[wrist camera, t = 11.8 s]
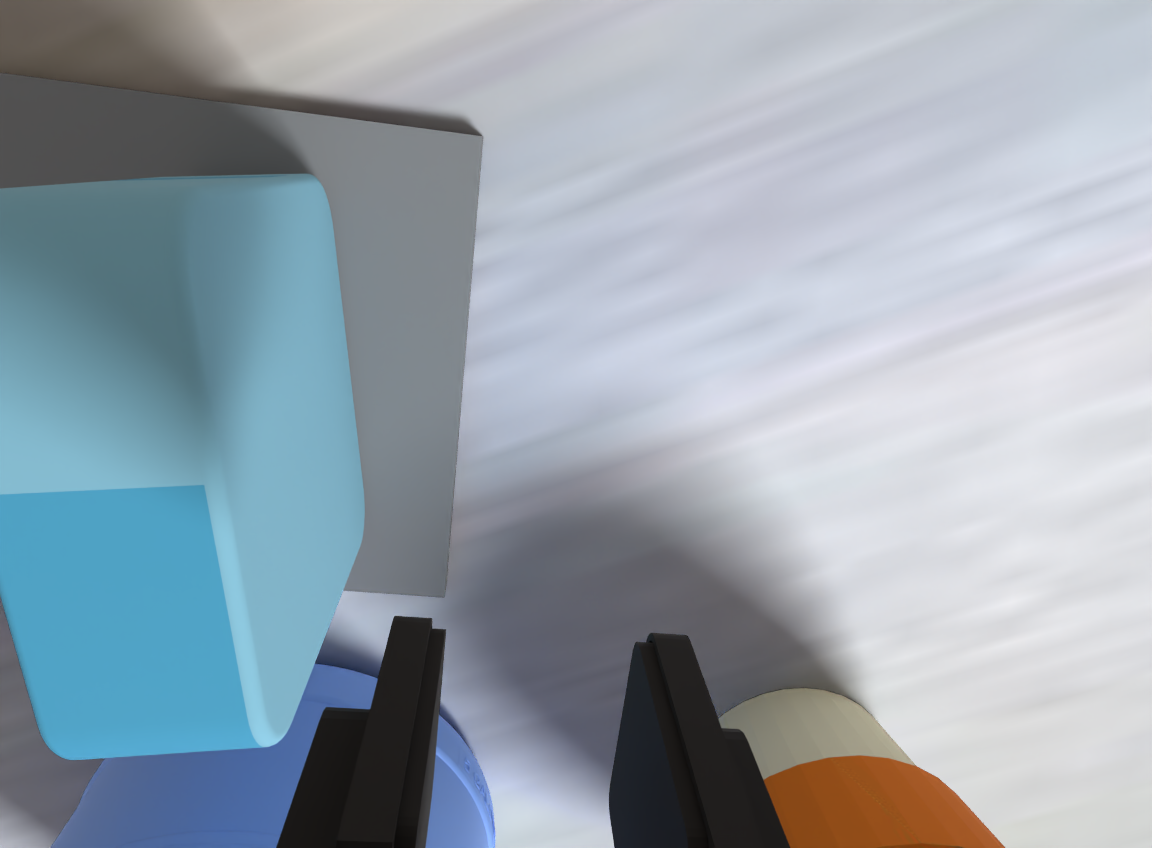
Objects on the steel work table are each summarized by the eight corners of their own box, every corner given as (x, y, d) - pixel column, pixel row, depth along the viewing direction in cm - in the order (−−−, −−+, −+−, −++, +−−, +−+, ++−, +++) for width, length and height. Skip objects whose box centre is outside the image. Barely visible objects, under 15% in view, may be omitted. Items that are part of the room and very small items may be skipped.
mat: (483, 136, 25) (482, 136, 24) (446, 586, 30) (444, 597, 29) (-296, 34, 23) (-324, 29, 22) (-196, 541, 28) (-217, 552, 27)
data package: (175, 175, 24) (-124, 196, 13) (328, 171, 24) (167, 189, 13) (238, 535, 28) (51, 797, 17) (369, 528, 28) (273, 781, 17)
